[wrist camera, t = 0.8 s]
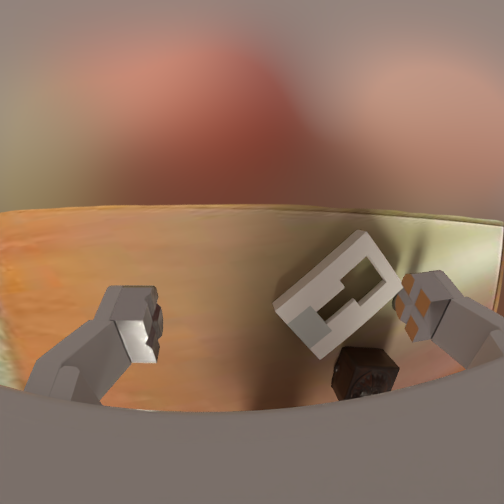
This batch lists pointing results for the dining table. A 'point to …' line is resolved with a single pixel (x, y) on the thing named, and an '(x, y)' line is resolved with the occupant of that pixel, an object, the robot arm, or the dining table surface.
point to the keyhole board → (328, 286)
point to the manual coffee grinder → (363, 373)
